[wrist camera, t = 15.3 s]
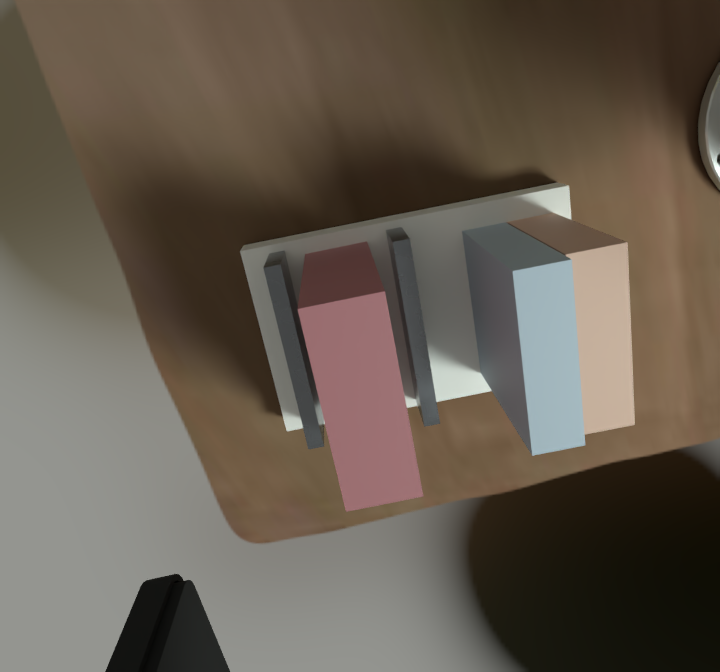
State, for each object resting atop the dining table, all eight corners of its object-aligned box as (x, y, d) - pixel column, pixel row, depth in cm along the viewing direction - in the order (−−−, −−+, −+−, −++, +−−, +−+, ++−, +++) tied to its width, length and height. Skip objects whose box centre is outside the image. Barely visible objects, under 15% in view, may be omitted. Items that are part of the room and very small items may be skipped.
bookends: (401, 227, 38) (409, 238, 35) (429, 396, 42) (439, 423, 39) (269, 253, 39) (263, 268, 35) (309, 420, 43) (308, 449, 39)
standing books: (553, 212, 39) (637, 246, 28) (565, 356, 42) (644, 433, 32) (461, 230, 39) (512, 271, 28) (480, 373, 42) (532, 455, 32)
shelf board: (557, 182, 40) (568, 185, 38) (571, 362, 44) (582, 373, 43) (243, 245, 40) (239, 251, 38) (288, 418, 45) (286, 431, 43)
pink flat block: (366, 241, 39) (385, 291, 27) (396, 396, 42) (423, 496, 31) (305, 254, 39) (297, 308, 27) (339, 407, 42) (346, 511, 31)
